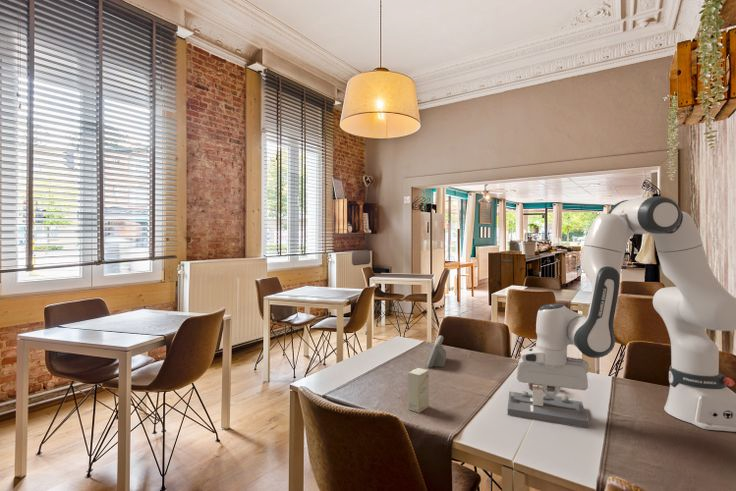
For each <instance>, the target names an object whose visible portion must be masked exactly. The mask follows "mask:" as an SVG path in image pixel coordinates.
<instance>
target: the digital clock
mask: <svg viewBox="0 0 736 491" xmlns="http://www.w3.org/2000/svg"><path fill="white" fill-rule="evenodd" d="M444 339H445V338H444V336H443V335H438V336H437V339H436V340H435V342H434V343H433V345H432V349H431V351H430V354H429V356H428V359H427V361H426V367H427V368H428V369H429V368H430V369H431V368H432V367H437V366H441V367H440V368H444V367H445V365H446V363H447V351H446V349H444V348H443V345H442V344H443V341H444Z"/></svg>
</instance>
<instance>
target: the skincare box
mask: <svg viewBox="0 0 736 491" xmlns="http://www.w3.org/2000/svg"><path fill="white" fill-rule="evenodd" d="M429 374H430V372H429V370H428V369H425V368H421V367H416V368H414V369H412V370H410V371H408V372H407V385H408V386H407V387H408V388H407V392H408V394H407V395H408V396H407V397H408V399H407V400H408V401H407V402H408V405H407V407H408V408H407V409H408V410H410V411H412V412H415V413H418V414H419V413H421V412H423V411H425V410H426V409H428V408H429V406H430V400H429V398H430V392H429V390H430V389H429V387H430V385H429V378H430V377H429Z"/></svg>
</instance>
